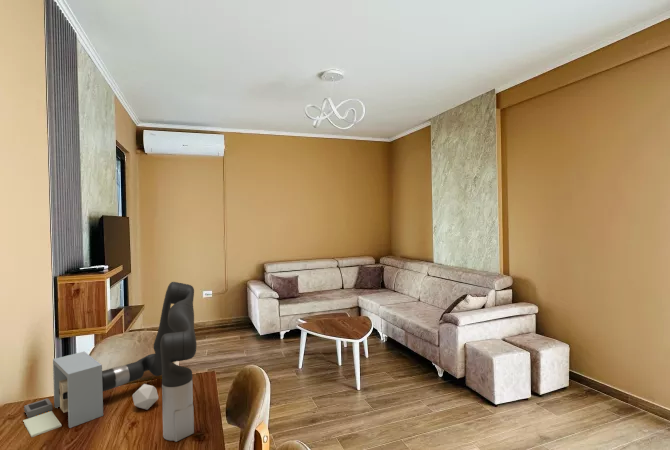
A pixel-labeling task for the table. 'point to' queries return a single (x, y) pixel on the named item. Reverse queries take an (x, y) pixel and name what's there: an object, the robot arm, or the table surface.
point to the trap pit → (38, 408)
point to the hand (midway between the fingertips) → (61, 394)
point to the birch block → (62, 401)
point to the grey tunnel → (79, 387)
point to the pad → (41, 423)
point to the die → (145, 396)
